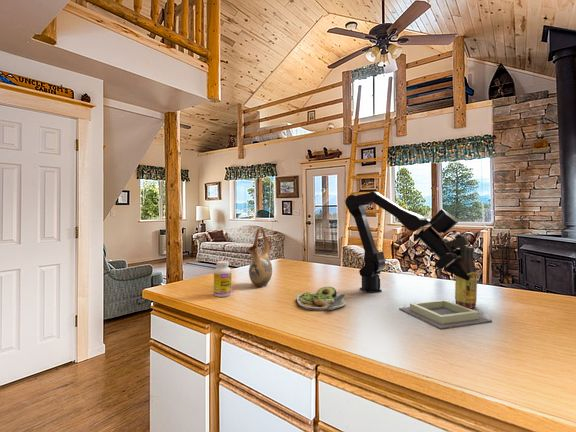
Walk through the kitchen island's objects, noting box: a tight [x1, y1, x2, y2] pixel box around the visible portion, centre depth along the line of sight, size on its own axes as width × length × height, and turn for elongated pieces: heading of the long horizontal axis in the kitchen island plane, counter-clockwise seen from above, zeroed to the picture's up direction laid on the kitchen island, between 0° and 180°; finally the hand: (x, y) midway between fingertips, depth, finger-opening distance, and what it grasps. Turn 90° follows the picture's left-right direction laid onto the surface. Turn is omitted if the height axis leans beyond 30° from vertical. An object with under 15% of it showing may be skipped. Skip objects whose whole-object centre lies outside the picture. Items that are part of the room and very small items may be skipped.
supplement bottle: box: [213, 260, 233, 298], centre depth 123 cm, size 7×7×13 cm
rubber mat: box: [399, 306, 493, 330], centre depth 98 cm, size 18×18×1 cm
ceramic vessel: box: [247, 227, 273, 288], centre depth 137 cm, size 16×9×25 cm, turn 153°
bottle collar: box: [409, 299, 480, 324], centre depth 98 cm, size 13×13×2 cm
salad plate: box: [295, 286, 347, 311], centre depth 110 cm, size 19×18×5 cm
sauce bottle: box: [454, 245, 478, 309], centre depth 106 cm, size 6×6×20 cm
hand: (470, 277), depth 105 cm, fingers closed on sauce bottle, 6 cm apart
